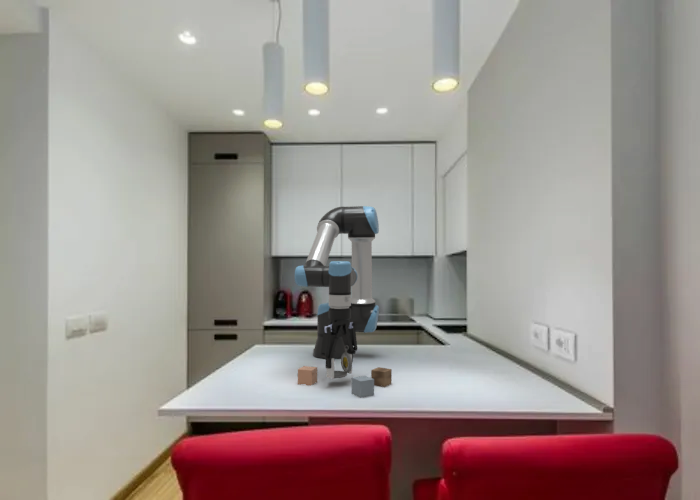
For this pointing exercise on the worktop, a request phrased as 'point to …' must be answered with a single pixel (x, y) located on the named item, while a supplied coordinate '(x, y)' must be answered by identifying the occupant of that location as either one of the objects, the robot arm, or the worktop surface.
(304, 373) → the terracotta cube
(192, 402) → the worktop surface
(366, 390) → the slate cube
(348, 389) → the worktop surface
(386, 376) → the walnut cube
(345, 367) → the pocket watch
